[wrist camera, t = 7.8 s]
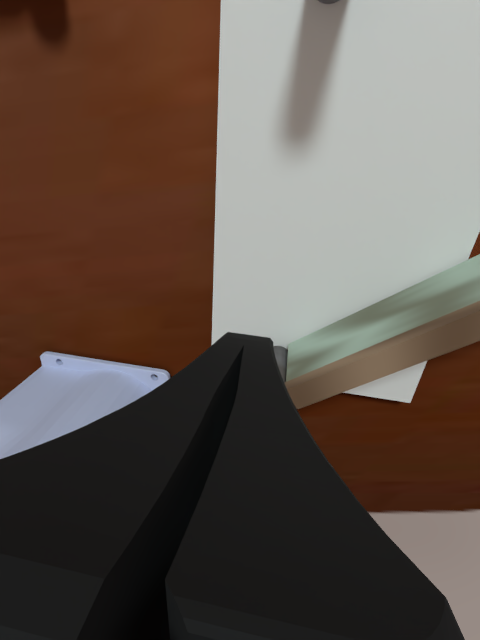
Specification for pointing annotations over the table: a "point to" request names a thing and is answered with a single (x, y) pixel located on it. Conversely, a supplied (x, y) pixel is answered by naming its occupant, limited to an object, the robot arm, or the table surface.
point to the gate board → (342, 161)
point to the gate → (385, 336)
